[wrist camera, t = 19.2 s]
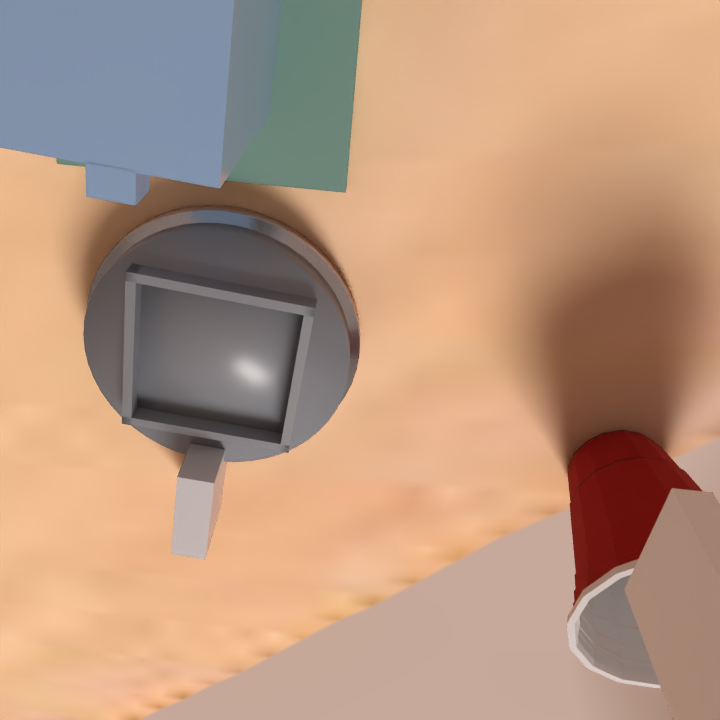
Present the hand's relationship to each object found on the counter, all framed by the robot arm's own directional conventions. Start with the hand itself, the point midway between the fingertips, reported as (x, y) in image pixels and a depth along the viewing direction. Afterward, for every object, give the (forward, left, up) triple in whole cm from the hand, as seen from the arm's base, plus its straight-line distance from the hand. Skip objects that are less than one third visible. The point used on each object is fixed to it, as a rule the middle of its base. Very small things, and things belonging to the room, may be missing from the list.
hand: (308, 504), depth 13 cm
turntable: (+13, -7, -23) cm, 27 cm away
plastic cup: (+17, +18, -24) cm, 34 cm away
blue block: (-7, -7, -23) cm, 25 cm away
